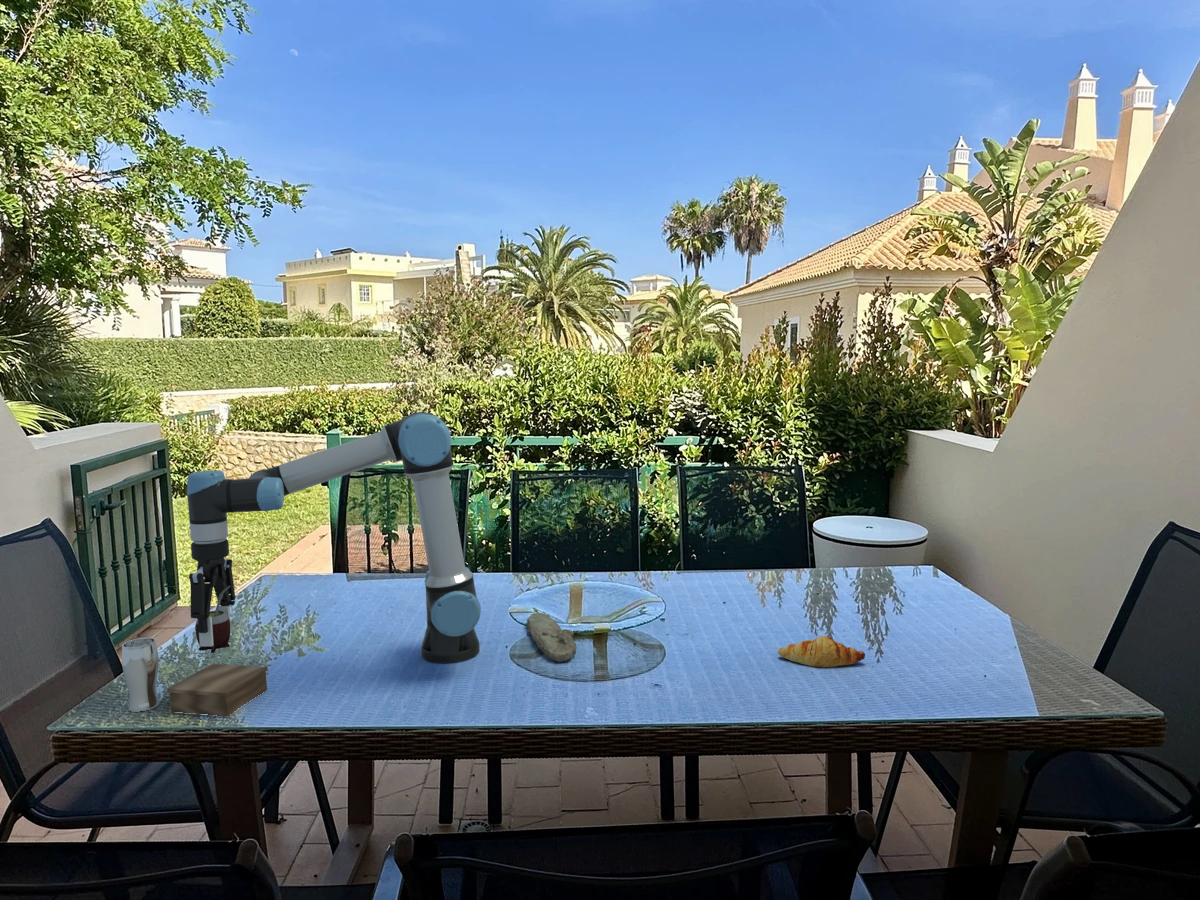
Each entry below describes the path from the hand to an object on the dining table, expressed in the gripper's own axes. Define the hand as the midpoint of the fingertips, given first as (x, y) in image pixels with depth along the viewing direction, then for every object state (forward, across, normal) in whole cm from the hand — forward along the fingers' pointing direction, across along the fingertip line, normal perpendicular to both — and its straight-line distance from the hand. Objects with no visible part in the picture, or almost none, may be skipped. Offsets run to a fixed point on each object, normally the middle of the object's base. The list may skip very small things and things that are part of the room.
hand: (216, 639), depth 173 cm
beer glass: (+15, +3, -16) cm, 22 cm away
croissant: (+14, -25, +142) cm, 145 cm away
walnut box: (+15, 0, 0) cm, 15 cm away
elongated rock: (+15, -39, +72) cm, 83 cm away
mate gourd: (+2, 0, 0) cm, 2 cm away
